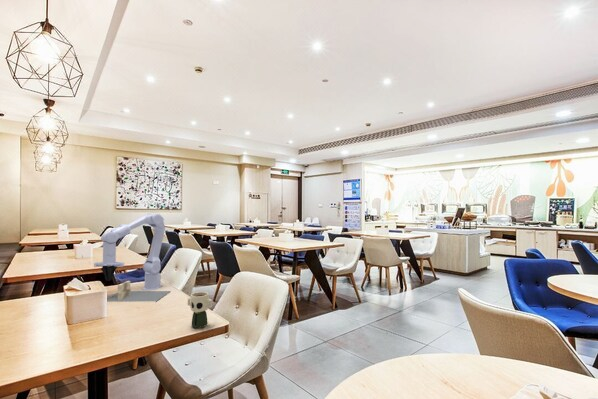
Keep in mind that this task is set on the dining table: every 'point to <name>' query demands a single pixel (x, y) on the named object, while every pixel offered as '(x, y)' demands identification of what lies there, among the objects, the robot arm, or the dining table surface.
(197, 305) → the character mug
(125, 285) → the birch tile
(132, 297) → the rubber mat
